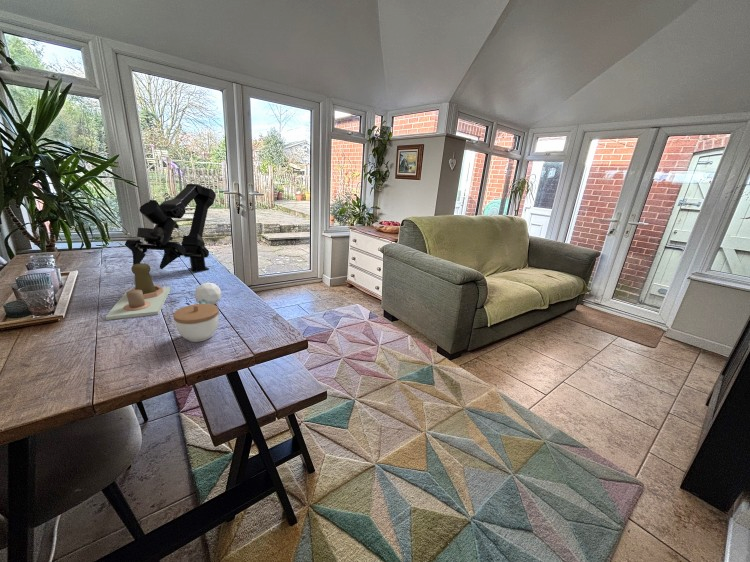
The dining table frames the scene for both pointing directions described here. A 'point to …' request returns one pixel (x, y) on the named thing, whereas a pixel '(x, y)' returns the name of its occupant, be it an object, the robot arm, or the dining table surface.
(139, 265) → the cork
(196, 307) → the lidded jar
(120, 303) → the pin board
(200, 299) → the faceted white bauble
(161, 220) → the robot arm
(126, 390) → the dining table surface
